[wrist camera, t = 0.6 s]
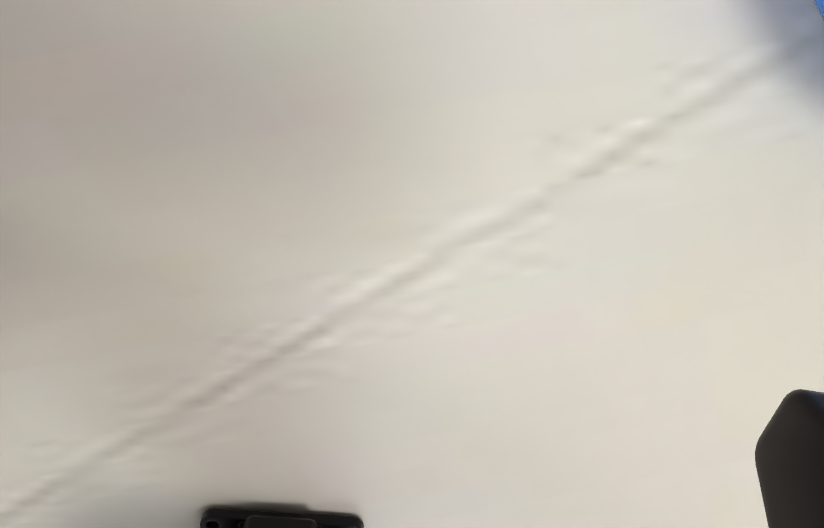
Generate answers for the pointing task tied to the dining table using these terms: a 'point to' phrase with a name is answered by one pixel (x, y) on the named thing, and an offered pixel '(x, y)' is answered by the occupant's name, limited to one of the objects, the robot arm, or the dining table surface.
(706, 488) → the dining table surface
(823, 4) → the tape roll
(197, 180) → the dining table surface
